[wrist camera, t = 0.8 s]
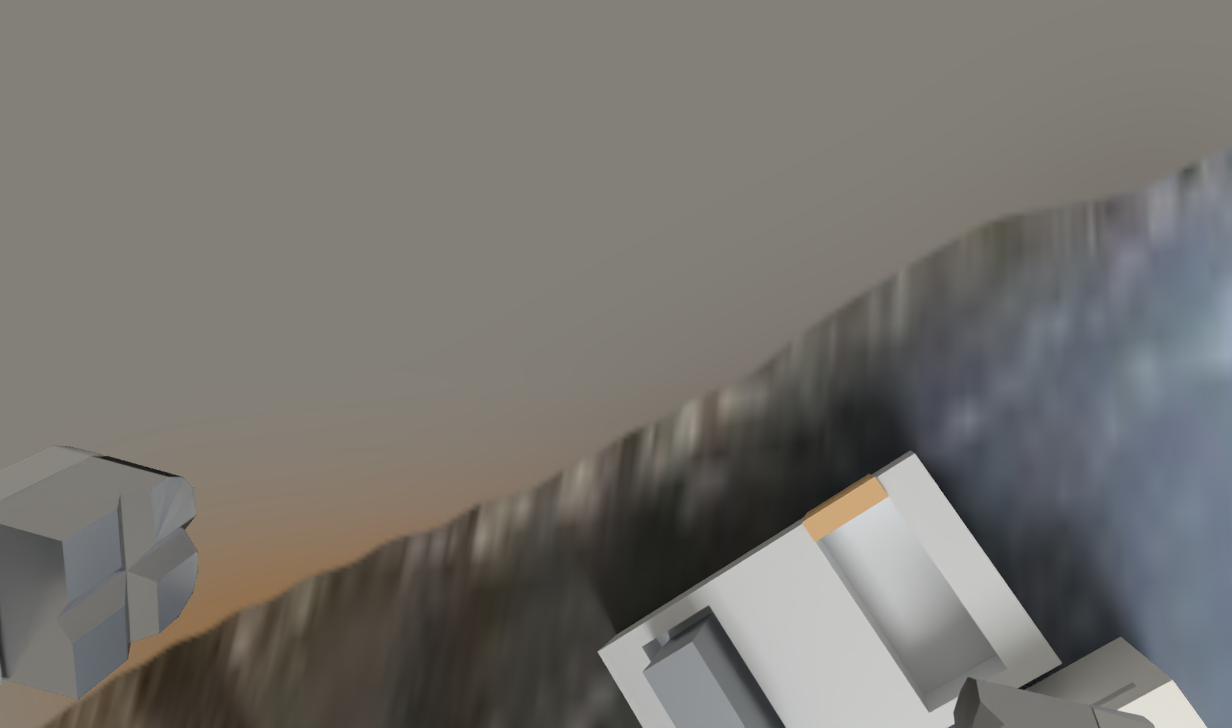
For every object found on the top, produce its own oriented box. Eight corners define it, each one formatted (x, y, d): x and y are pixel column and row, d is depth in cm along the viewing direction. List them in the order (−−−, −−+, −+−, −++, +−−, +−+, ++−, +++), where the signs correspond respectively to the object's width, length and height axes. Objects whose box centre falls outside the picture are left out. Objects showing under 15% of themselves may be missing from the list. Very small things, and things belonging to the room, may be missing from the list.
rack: (1045, 643, 48) (1081, 687, 40) (729, 822, 51) (706, 894, 44) (908, 447, 50) (917, 453, 42) (614, 631, 54) (573, 668, 46)
